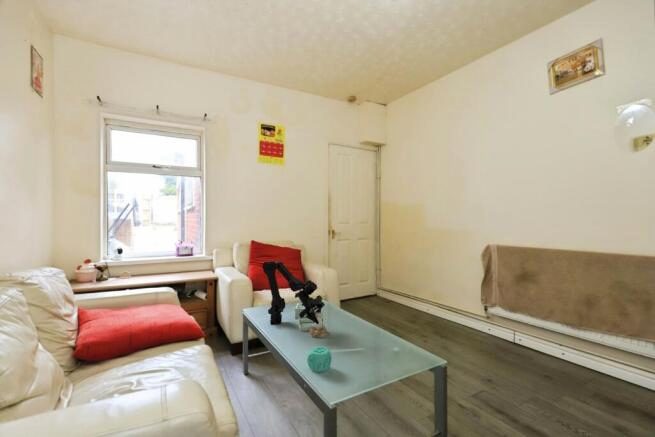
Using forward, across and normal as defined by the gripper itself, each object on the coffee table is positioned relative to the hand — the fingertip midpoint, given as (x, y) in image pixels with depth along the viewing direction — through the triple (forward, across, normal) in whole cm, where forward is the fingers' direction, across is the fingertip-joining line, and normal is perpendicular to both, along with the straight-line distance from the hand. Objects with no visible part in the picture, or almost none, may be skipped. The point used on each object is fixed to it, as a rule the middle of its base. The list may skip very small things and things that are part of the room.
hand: (320, 322), depth 165 cm
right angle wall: (-13, +21, +25) cm, 35 cm away
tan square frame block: (+4, 0, +6) cm, 8 cm away
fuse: (+3, 0, +5) cm, 6 cm away
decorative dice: (+19, -29, -8) cm, 36 cm away
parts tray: (-3, +7, +14) cm, 16 cm away
